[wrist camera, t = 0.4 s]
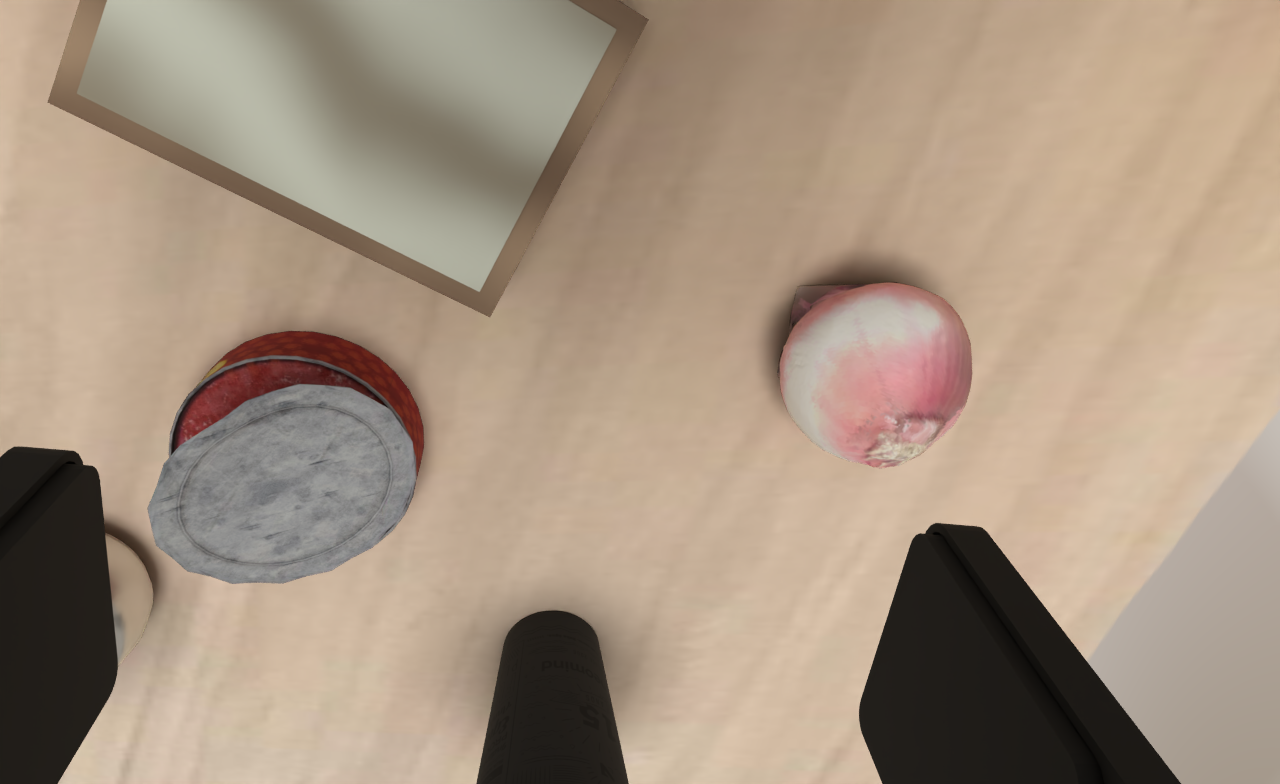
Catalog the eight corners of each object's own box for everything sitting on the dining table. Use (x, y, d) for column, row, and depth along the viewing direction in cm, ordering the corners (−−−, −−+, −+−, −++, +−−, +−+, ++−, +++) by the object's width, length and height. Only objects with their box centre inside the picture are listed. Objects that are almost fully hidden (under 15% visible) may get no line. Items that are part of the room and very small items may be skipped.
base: (213, -249, 30) (165, -280, 26) (638, 13, 35) (649, 19, 31) (100, 87, 34) (43, 103, 30) (495, 284, 38) (489, 319, 35)
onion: (854, 429, 44) (851, 530, 38) (745, 320, 42) (724, 409, 36) (1002, 337, 40) (1024, 435, 34) (888, 211, 38) (891, 292, 32)
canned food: (343, 290, 43) (398, 299, 34) (432, 475, 46) (503, 526, 37) (90, 400, 39) (81, 442, 30) (208, 596, 42) (230, 685, 33)
